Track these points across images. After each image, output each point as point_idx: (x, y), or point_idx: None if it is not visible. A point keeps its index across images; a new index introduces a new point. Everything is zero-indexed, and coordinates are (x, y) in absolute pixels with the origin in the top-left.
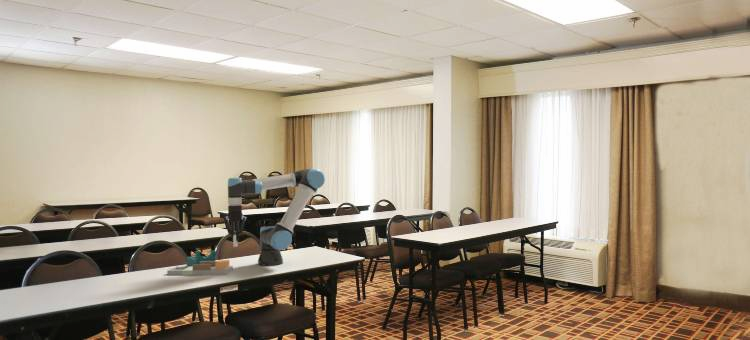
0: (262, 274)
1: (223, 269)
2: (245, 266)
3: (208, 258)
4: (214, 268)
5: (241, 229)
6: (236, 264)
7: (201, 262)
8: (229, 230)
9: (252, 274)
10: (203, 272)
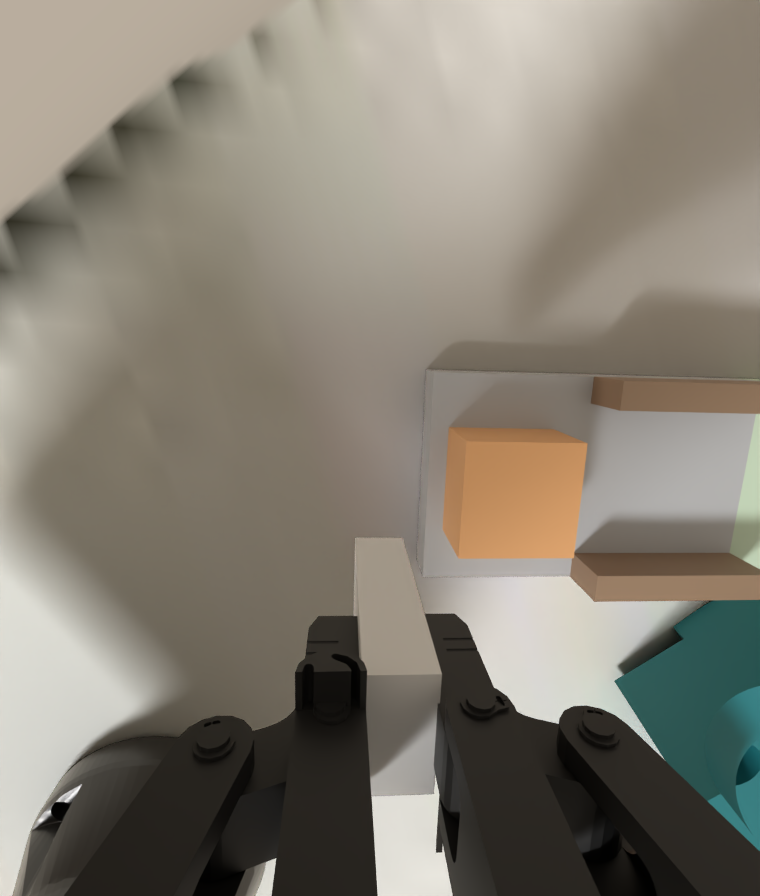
0: (59, 357)
1: (469, 409)
2: None
3: (712, 703)
4: None
5: (94, 882)
6: None
7: (744, 570)
8: (637, 813)
9: (165, 364)
10: (646, 376)
